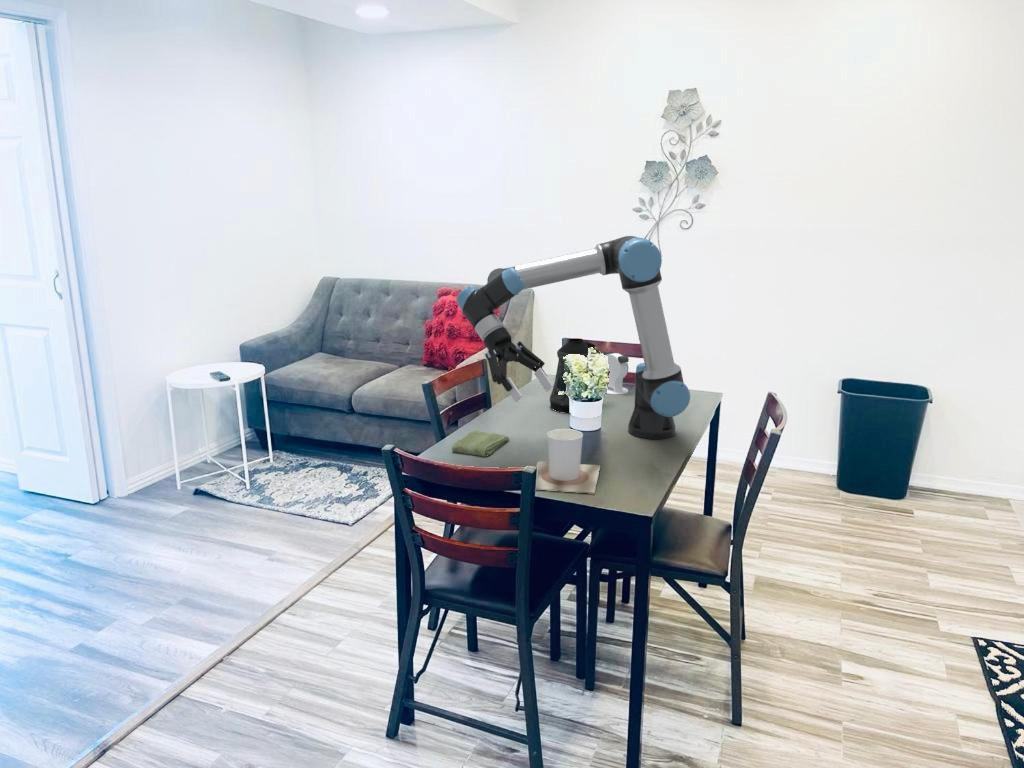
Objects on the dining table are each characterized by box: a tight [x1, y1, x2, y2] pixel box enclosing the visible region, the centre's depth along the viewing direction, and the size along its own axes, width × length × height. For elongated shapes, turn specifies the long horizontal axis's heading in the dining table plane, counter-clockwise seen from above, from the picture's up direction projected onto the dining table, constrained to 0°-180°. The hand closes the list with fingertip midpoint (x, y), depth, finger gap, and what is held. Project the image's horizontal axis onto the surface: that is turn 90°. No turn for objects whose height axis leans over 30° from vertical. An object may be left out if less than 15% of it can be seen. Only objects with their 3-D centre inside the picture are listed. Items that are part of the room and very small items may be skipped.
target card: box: [535, 461, 601, 495], centre depth 208 cm, size 18×20×1 cm
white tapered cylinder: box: [546, 428, 584, 481], centre depth 207 cm, size 10×10×12 cm
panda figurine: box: [603, 350, 630, 396], centre depth 294 cm, size 12×11×15 cm
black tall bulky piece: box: [549, 337, 601, 414], centre depth 272 cm, size 16×19×25 cm
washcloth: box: [451, 429, 510, 458], centre depth 234 cm, size 13×18×3 cm
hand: (535, 394), depth 209 cm, fingers open, 13 cm apart
